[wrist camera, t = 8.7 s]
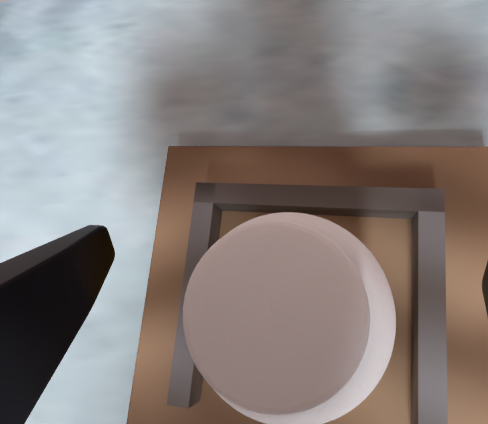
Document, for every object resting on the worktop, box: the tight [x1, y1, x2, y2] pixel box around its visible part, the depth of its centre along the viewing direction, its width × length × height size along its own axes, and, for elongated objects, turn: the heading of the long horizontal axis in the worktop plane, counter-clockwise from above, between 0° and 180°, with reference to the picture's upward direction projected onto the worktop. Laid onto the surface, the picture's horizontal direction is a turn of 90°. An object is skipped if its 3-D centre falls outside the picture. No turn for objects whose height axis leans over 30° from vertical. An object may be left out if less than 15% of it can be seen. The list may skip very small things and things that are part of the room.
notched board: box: [127, 146, 488, 424], centre depth 18 cm, size 16×16×3 cm
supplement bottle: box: [183, 212, 396, 424], centre depth 13 cm, size 6×6×10 cm
